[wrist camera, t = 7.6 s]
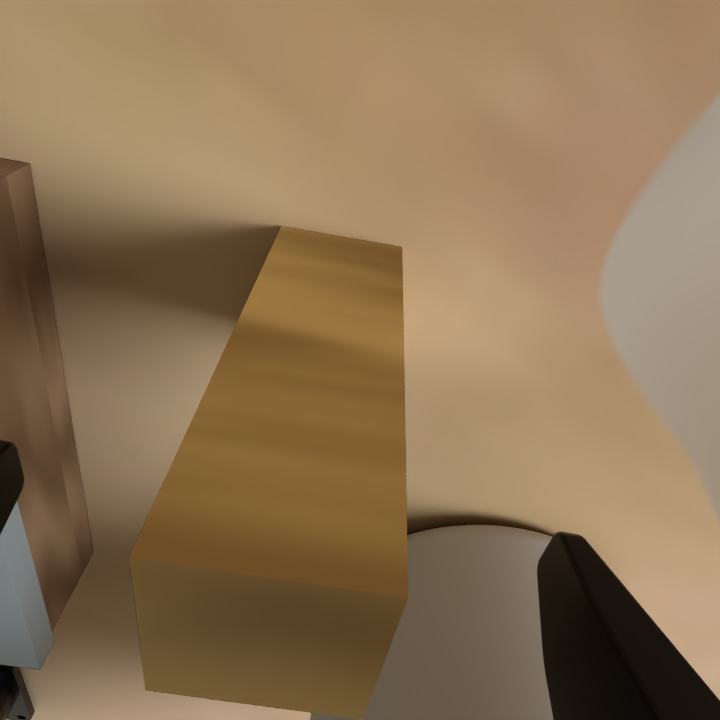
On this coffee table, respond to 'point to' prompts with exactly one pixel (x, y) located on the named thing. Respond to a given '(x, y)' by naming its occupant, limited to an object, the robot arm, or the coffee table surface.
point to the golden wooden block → (287, 494)
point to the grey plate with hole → (21, 601)
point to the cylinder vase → (466, 630)
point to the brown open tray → (38, 398)
